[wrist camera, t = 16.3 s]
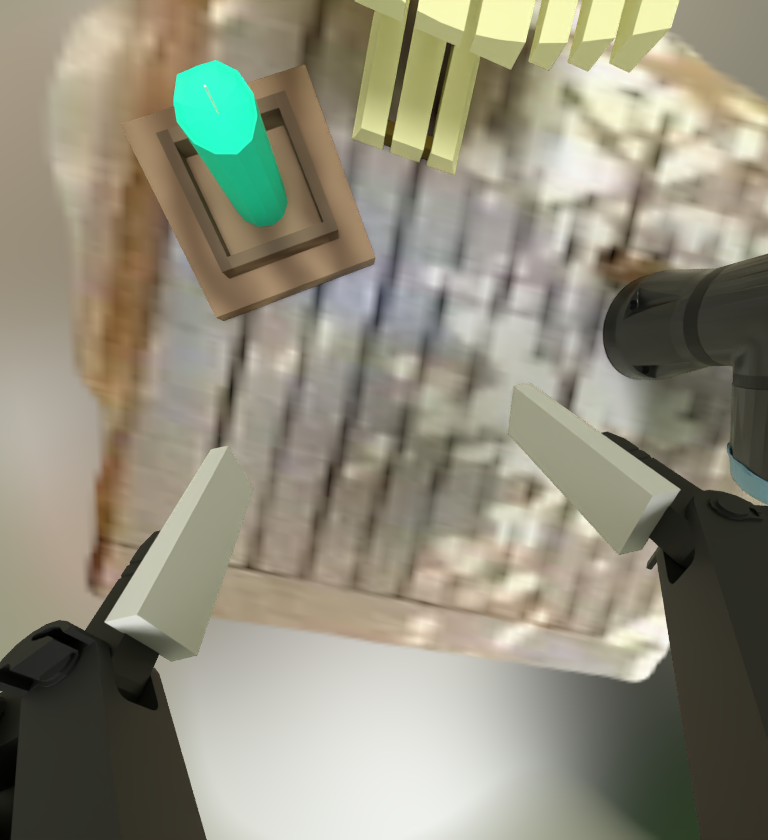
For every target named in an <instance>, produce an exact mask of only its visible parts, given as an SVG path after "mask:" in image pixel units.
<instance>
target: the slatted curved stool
mask: <svg viewBox="0 0 768 840" xmlns="http://www.w3.org/2000/svg"><path fill="white" fill-rule="evenodd" d="M535 1H536V0H419V4H418V9H417V14H416V19H415V24H414V30H413V35H412V40H411V45H410V50H409V56H408V61H407V66H406V71H405V77H404V82H403V87H402V92H401V97H400V103H399V108H398V113H397V118H396V123H395V122H393V121H390V120H388V118H389V112H390V107H391V102H392V96H393V91H394V86H395V81H396V75H397V70H398V65H399V59H400V54H401V49H402V43H403V38H404V33H405V27H406V22H407V16H408V11H409V5H410V0H355V2H357V3H359V4H361V5H364V6H366V7H368V8H371V9H373V10H375V11H374V15H373V20H372V26H371V32H370V37H369V43H368V49H367V55H366V60H365V66H364V72H363V78H362V83H361V89H360V95H359V101H358V106H357V112H356V118H355V123H354V129H353V135H352V139H354V140H357V141H360V142H362V143H365V144H368V145H371V146H374V147H376V148H379V149H382V150H383V144H385V145H388V146H391V150H390V152H391V153H393V154H396V155H399V156H402V157H405V158H407V159H410V160H413V161H416V162H420V159H421V158H424V159H427V166H430V167H433V168H436V169H438V170H441V171H444V172H447V173H450V174H453V175H455V171H456V166H457V162H458V157H459V153H460V148H461V144H462V139H463V134H464V130H465V125H466V121H467V116H468V112H469V107H470V103H471V98H472V94H473V89H474V85H475V80H476V76H477V71H478V67H479V62H480V56H481V57H483V58H485V59H487V60H490V61H492V62H494V63H497V64H499V65H501V66H503V67H506V68H508V69H510V70H511V69H512V67H513V65H514V63H515V61H516V59H517V58H518V56H519V54H520V52H521V50H522V48H523V46H524V44H525V43H526V38H527V34H528V30H529V26H530V22H531V17H532V13H533V9H534V5H535ZM577 3H578V0H542V3H541V8H540V13H539V17H538V22H537V26H536V30H535V35H534V39H533V44H532V48H531V52H530V56H529V61H528V62H530V63H533V64H535V65H537V66H539V67H542V68H544V69H546V70H548V71H549V70H550V68H551V66H552V65H553V63H554V62H555V60H556V59H557V57H558V56H559V54H560V53H561V51H562V50H563V48H564V47H565V45H566V44H567V42H568V38H569V34H570V30H571V26H572V22H573V18H574V14H575V10H576V6H577ZM678 3H679V0H582V5H581V9H580V14H579V18H578V23H577V27H576V31H575V35H574V39H573V43H572V47H571V51H570V55H569V59H568V63H570V64H573V65H575V66H577V67H579V68H581V69H583V70H586V71H589V70H590V69H591V67H592V66H593V65H594V64H595V62H596V61H597V60H598V59H599V57H600V56H601V55H602V54H603V52H604V51H605V50H606V48H607V47H608V46H609V45H610V43H611V42H612V41H613V40H614V38H615V36H616V39H615V42H614V46H613V50H612V54H611V58H610V61H609V63H610V64H612V65H614V66H616V67H618V68H620V69H623V70H625V71H627V72H630V71H631V70H632V69H633V68H634V67H635V66H636V65H637V64H638V63H639V62H640V61H641V59H642V58H643V57H644V56H645V55H646V54H647V53H648V52H649V51H650V50H651V49H652V48H653V47H654V46H655V44H656V43H657V42H658V41H659V40H660V39H661V38H662V37H663V36H664V35H665V34H666V33H667V32H668V30H669V29H670V28H671V26H672V22H673V19H674V16H675V12H676V9H677V6H678ZM620 17H621V18H620ZM619 21H620V23H619ZM618 25H619V27H618ZM617 28H618V31H617ZM616 32H617V35H616ZM447 42H448V43H451V44H452V45H451V50H450V55H449V59H448V64H447V69H446V74H445V79H444V83H443V88H442V93H441V98H440V103H439V107H438V112H437V117H436V122H435V127H434V131H433V136H430V135H427V131H428V126H429V121H430V116H431V112H432V107H433V102H434V98H435V93H436V88H437V84H438V79H439V75H440V70H441V66H442V61H443V57H444V52H445V48H446V44H447Z"/></svg>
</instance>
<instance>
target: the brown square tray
mask: <svg viewBox="0 0 768 840" xmlns="http://www.w3.org/2000/svg"><path fill="white" fill-rule="evenodd" d="M247 85H248V86H249V88H250V89H251V90H252V92H253V93H254V96H255V99H256V103H257V106H258V109H259V112H260V115H261V118H262V121H263V124H264V127H265V130H266V133H267V136H268V139H269V142H270V145H271V148H272V151H273V154H274V157H275V160H276V163H277V166H278V169H279V172H280V175H281V178H282V181H283V184H284V187H285V192H286V197H287V202H288V204H287V207H286V210H285V213H284V216H283V217H282V218H281V219H280V220H279V221H278V222H276V223H275V224H274V225H273V226H262V227H258V226H256V225H253V224H251V223H249V222H247V221H245V220H244V219H243V218H242V217H241V215H240V214H239V213H238V212H237V210H236V209H235V208H234V206H233V205H232V203H231V202H230V200H229V199H228V197H227V196H226V194H225V193H224V191H223V190H222V188H221V187H220V185H219V184H218V182H217V181H216V179H215V178H214V176H213V175H212V173H211V172H210V171H209V169H208V168H207V166H206V165H205V163H204V162H203V160H202V159H201V157H200V156H199V154H198V153H197V151H196V150H195V148H194V147H193V145H192V144H191V142H190V141H189V139H188V138H187V136H186V135H185V133H184V132H183V130H182V129H181V127H180V126H179V124H178V123H177V120H176V114H175V108H174V107H172V108H169V109H166V110H162V111H159V112H156V113H153V114H150V115H147V116H144V117H141V118H138V119H135V120H132V121H129V122H125V123H122V124H120V125H121V127H122V129H123V131H124V133H125V135H126V137H127V139H128V141H129V143H130V145H131V147H132V149H133V151H134V153H135V155H136V157H137V159H138V161H139V163H140V165H141V167H142V169H143V171H144V173H145V175H146V177H147V179H148V181H149V183H150V185H151V187H152V189H153V191H154V193H155V195H156V197H157V199H158V201H159V203H160V205H161V207H162V209H163V211H164V213H165V215H166V217H167V219H168V222H169V224H170V226H171V228H172V230H173V232H174V234H175V236H176V238H177V240H178V242H179V244H180V246H181V248H182V250H183V252H184V254H185V256H186V258H187V260H188V262H189V264H190V266H191V268H192V270H193V272H194V274H195V276H196V278H197V280H198V282H199V284H200V286H201V288H202V290H203V292H204V294H205V296H206V298H207V300H208V302H209V304H210V306H211V308H212V310H213V312H214V314H215V316H216V318H218V319H221V320H223V321H225V320H227V319H230V318H233V317H235V316H238V315H241V314H243V313H246V312H248V311H251V310H254V309H256V308H259V307H262V306H264V305H267V304H270V303H272V302H275V301H277V300H280V299H283V298H285V297H288V296H291V295H293V294H296V293H299V292H301V291H304V290H306V289H309V288H312V287H314V286H317V285H320V284H322V283H325V282H328V281H330V280H333V279H335V278H338V277H341V276H343V275H346V274H349V273H351V272H354V271H357V270H359V269H362V268H364V267H367V266H370V265H372V264H374V260H375V255H374V253H373V250H372V247H371V244H370V242H369V239H368V236H367V233H366V231H365V228H364V225H363V222H362V220H361V217H360V214H359V211H358V209H357V206H356V203H355V201H354V198H353V195H352V192H351V190H350V187H349V184H348V181H347V179H346V176H345V173H344V170H343V168H342V165H341V162H340V159H339V157H338V154H337V151H336V148H335V146H334V143H333V140H332V137H331V135H330V132H329V129H328V126H327V124H326V121H325V118H324V115H323V113H322V110H321V107H320V104H319V102H318V99H317V96H316V93H315V91H314V88H313V85H312V82H311V80H310V77H309V74H308V71H307V69H306V66H305V64H304V65H301V66H298V67H295V68H292V69H289V70H286V71H283V72H279V73H276V74H273V75H270V76H267V77H264V78H261V79H258V80H255V81H252V82H249V83H247Z"/></svg>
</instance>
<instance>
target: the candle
mask: <svg viewBox="0 0 768 840" xmlns="http://www.w3.org/2000/svg"><path fill="white" fill-rule="evenodd" d="M173 102H174V108H175V114H176V120H177V123H178V124H179V126H180V127H181V129H182V130H183V132H184V133H185V135H186V136H187V138H188V139H189V141H190V142H191V144H192V145H193V147H194V148H195V150H196V151H197V153H198V154H199V156H200V157H201V159H202V160H203V162H204V163H205V165H206V166H207V168H208V169H209V171H210V172H211V173H212V175H213V176H214V178H215V179H216V181H217V182H218V184H219V185H220V187H221V188H222V190H223V191H224V193H225V194H226V196H227V197H228V199H229V200H230V202H231V203H232V205H233V206H234V208H235V209H236V210H237V212H238V213H239V214H240V215H241V217H242V218H243V219H244V220H245V221H247V222H249V223H251V224H253V225H256V226H258V227H262V226H273V225H274V224H275V223H276V222H278V221H279V220H280V219H281V218H282V217H283V216H284V213H285V210H286V207H287V204H288V202H287V197H286V192H285V187H284V184H283V181H282V178H281V175H280V172H279V169H278V166H277V163H276V160H275V157H274V154H273V151H272V148H271V145H270V142H269V139H268V136H267V133H266V130H265V127H264V124H263V121H262V118H261V115H260V112H259V109H258V106H257V103H256V99H255V96H254V93H253V92H252V90H251V89H250V88H249V86H248V85H247V83H246V82H245V80H244V79H243V78H242V76H241V75H240V73H239V72H238V71H237V70H235V69H233V68H231V67H229V66H227V65H225V64H223V63H221V62H219V61H217V60H215V61H212V62H208V63H205V64H202V65H198V66H196V67H193V68H191V69H189V70H187V71H184V72H182V73H180V74H178V75H177V79H176V86H175V93H174V100H173Z"/></svg>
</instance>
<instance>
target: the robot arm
mask: <svg viewBox="0 0 768 840" xmlns="http://www.w3.org/2000/svg"><path fill="white" fill-rule="evenodd" d="M604 344H605V349H606V352H607V355H608V357H609V359H610V361H611V363H612V364H613V366H614V367H615V368H616V369H617V370H618V371H619V372H620V373H622V374H623V375H625V376H627V377H630V378H633V379H644V380H656V379H664V378H668V377H672V376H676V375H680V374H683V373H687V372H691V371H695V370H698V369H702V368H706V367H709V366H733V383H732V401H731V421H730V442H729V443H728V444H727V452H728V455H729V457H730V472H731V476H732V478H733V480H734V481H735V482H736V483H737V484H738V486H739V487H740V488H741V489H742V490H743V491H745V492H746V493H747V494H749V495H750V496H752V497H753V498H755V499H757V500H759V501H761V502H762V503H764V504H767V505H768V254H765V255H762V256H758V257H755V258H751V259H748V260H744V261H740V262H737V263H734V264H730V265H727V266H724V267H720V268H716V269H687V270H666V271H661V272H657V273H654V274H651V275H648V276H645V277H642V278H639V279H637V280H635V281H633V282H632V283H630V284H629V285H627V286H626V287H625V288H624V289H623V290H622V291H621V292H620V293H619V294H618V296H617V297H616V298H615V300H614V302H613V303H612V305H611V307H610V309H609V312H608V314H607V318H606V321H605V327H604ZM508 434H509V435H510V437H511V438H512V439H513V440H514V441H515V442H516V443H517V444H518V445H519V446H520V447H521V449H522V450H523V451H524V452H525V453H526V454H527V455H528V456H529V457H530V458H531V459H532V461H533V462H534V463H535V464H536V465H537V466H538V467H539V468H540V469H541V470H542V472H543V473H544V474H545V475H546V476H547V477H548V478H549V479H550V480H551V481H552V482H553V484H554V485H555V486H556V487H557V488H558V489H559V490H560V491H561V492H562V493H563V495H564V496H565V497H566V498H567V499H568V500H569V501H570V502H571V503H572V504H573V505H574V507H575V508H576V509H577V510H578V511H579V512H580V513H581V514H582V515H583V516H584V518H585V519H586V520H587V521H588V522H589V523H590V524H591V525H592V526H593V527H594V528H595V530H596V531H597V532H598V533H599V534H600V535H601V536H602V537H603V538H604V539H605V540H606V542H607V543H608V544H609V545H610V546H611V547H612V548H613V549H614V550H615V551H616V553H617V554H618V555H621V554H625V553H629V552H634V551H638V550H642V549H643V547H644V545H645V544H646V542H647V541H648V539H649V538H650V539H651V540H653V541H654V542H655V543H656V544H657V545H658V546H659V547H658V548H657V549H656V551H655V552H654V554H653V555H652V557H651V558H650V560H649V561H648V563H647V568H648V569H650V570H651V569H652V568H653V567H654V565H655V564H656V563H657V565H658V572H659V578H660V584H661V590H662V597H663V603H664V609H665V616H666V622H667V629H668V635H669V641H670V648H671V654H672V661H673V667H674V673H675V680H676V686H677V692H678V699H679V705H680V712H681V718H682V724H683V731H684V737H685V743H686V750H687V756H688V763H689V769H690V775H691V782H692V788H693V794H694V801H695V807H696V813H697V820H698V826H699V833H700V839H701V840H768V506H759V505H753V504H752V503H751V502H748V501H746V500H744V499H742V498H740V497H738V496H735V495H732V494H729V493H725V492H721V491H713V490H706V491H703V490H701V489H699V488H698V487H696V486H695V485H693V484H692V483H690V482H689V481H687V480H686V479H684V478H683V477H681V476H680V475H678V474H677V473H675V472H674V471H672V470H671V469H669V468H668V467H666V466H665V465H663V464H662V463H660V462H659V461H657V460H656V459H654V458H651V457H650V455H648V454H647V453H645V452H644V451H642V450H639V448H638V447H636V446H635V445H633V444H632V443H630V442H629V441H627V440H626V439H624V438H622V437H619V436H617V435H614V434H612V433H609V432H603V433H600V432H599V431H597V430H596V429H594V428H593V427H592V426H590V425H589V424H587V423H586V422H585V421H583V420H582V419H580V418H579V417H577V416H576V415H575V414H573V413H572V412H570V411H569V410H568V409H566V408H565V407H563V406H562V405H560V404H559V403H558V402H556V401H555V400H553V399H552V398H551V397H549V396H548V395H546V394H545V393H544V392H542V391H541V390H539V389H538V388H536V387H535V386H534V385H532V384H531V383H526V384H521V385H516V386H514V387H513V396H512V404H511V412H510V420H509V429H508ZM253 490H254V488H253V486H252V484H251V483H250V481H249V479H248V478H247V476H246V474H245V473H244V471H243V469H242V468H241V466H240V464H239V463H238V461H237V459H236V458H235V456H234V454H233V453H232V451H231V449H230V448H229V446H225V447H221V448H216V449H211V450H210V452H209V454H208V455H207V457H206V458H205V460H204V462H203V463H202V465H201V467H200V468H199V470H198V471H197V473H196V475H195V476H194V478H193V479H192V481H191V483H190V484H189V486H188V488H187V489H186V491H185V492H184V494H183V496H182V497H181V499H180V501H179V502H178V504H177V505H176V507H175V509H174V510H173V512H172V513H171V515H170V517H169V518H168V520H167V522H166V523H165V525H164V526H163V528H162V530H161V531H156V532H154V533H153V534H152V535H151V536H150V537H149V538H148V539H147V540H146V541H145V542H144V543H143V544H142V545H141V546H140V547H139V549H138V550H137V552H136V553H135V555H134V556H133V558H132V560H131V561H130V565H128V566H127V567H126V569H125V570H124V572H123V573H122V575H121V579H118V581H117V582H116V584H115V586H114V587H113V589H112V590H111V592H110V593H109V595H108V596H107V598H106V599H105V601H104V602H103V604H102V605H101V607H100V608H99V610H98V612H97V613H96V615H95V616H94V618H93V619H92V621H91V622H90V624H89V625H88V627H87V628H86V630H85V631H84V630H82V629H81V628H78V627H77V626H75V625H73V624H71V623H69V622H67V621H61V620H58V621H55V622H52V623H49V624H46V625H45V626H43V627H41V628H40V629H38V630H36V631H34V632H32V633H31V634H30V635H29V636H27V637H26V638H25V639H23V640H22V641H21V642H20V643H19V644H17V645H16V646H15V647H14V648H13V649H12V650H11V651H10V652H9V653H8V654H7V655H6V656H5V657H4V658H3V659H2V661H1V662H0V691H3V692H1V693H0V840H207V839H206V836H205V832H204V829H203V826H202V822H201V818H200V815H199V812H198V808H197V804H196V801H195V797H194V794H193V790H192V787H191V783H190V780H189V777H188V773H187V769H186V766H185V762H184V759H183V756H182V752H181V748H180V745H179V742H178V738H177V734H176V731H175V727H174V724H173V721H172V717H171V714H170V710H169V706H168V703H167V699H166V696H165V692H164V689H163V685H162V682H161V678H160V675H159V673H158V672H157V670H156V669H155V668H153V667H154V665H155V663H156V660H157V658H158V655H161V656H163V657H164V658H166V659H168V660H170V661H175V660H180V659H184V658H188V657H192V656H197V655H198V652H199V649H200V646H201V643H202V640H203V637H204V634H205V631H206V628H207V625H208V622H209V620H210V617H211V614H212V611H213V608H214V605H215V602H216V599H217V596H218V593H219V590H220V587H221V584H222V581H223V579H224V576H225V573H226V570H227V567H228V564H229V561H230V558H231V555H232V552H233V549H234V546H235V543H236V540H237V537H238V534H239V532H240V529H241V526H242V523H243V520H244V517H245V514H246V511H247V508H248V505H249V502H250V499H251V496H252V493H253Z"/></svg>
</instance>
